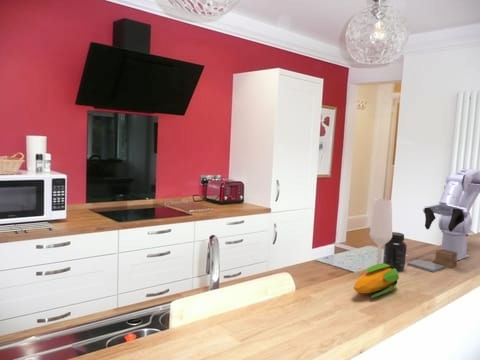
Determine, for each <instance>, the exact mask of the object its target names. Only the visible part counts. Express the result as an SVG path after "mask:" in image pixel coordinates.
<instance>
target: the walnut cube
mask: <svg viewBox="0 0 480 360" xmlns="http://www.w3.org/2000/svg"><path fill="white" fill-rule="evenodd" d="M434 263H435V264H439V265H443V266H445V268H446V269H453V268H455V267H457V263H458V260H457V252H453V251H449V250H445V249H438V250H436V251H435V259H434Z"/></svg>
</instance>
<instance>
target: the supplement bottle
mask: <svg viewBox="0 0 480 360" xmlns="http://www.w3.org/2000/svg"><path fill="white" fill-rule="evenodd" d="M404 241H405V233H401V232H398V231H392V238H391V240H390V241H389V242H387V243H386V244H385V245H383V246H384V248H383V261H382V262H383V263H382V264H388V265H390V266H392V267H393V269H394V268H395V269H396V270H397V272H398V273H399V272H403V271H405V268H406V256H407V255H406V254H407V243H406V242H404Z"/></svg>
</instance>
